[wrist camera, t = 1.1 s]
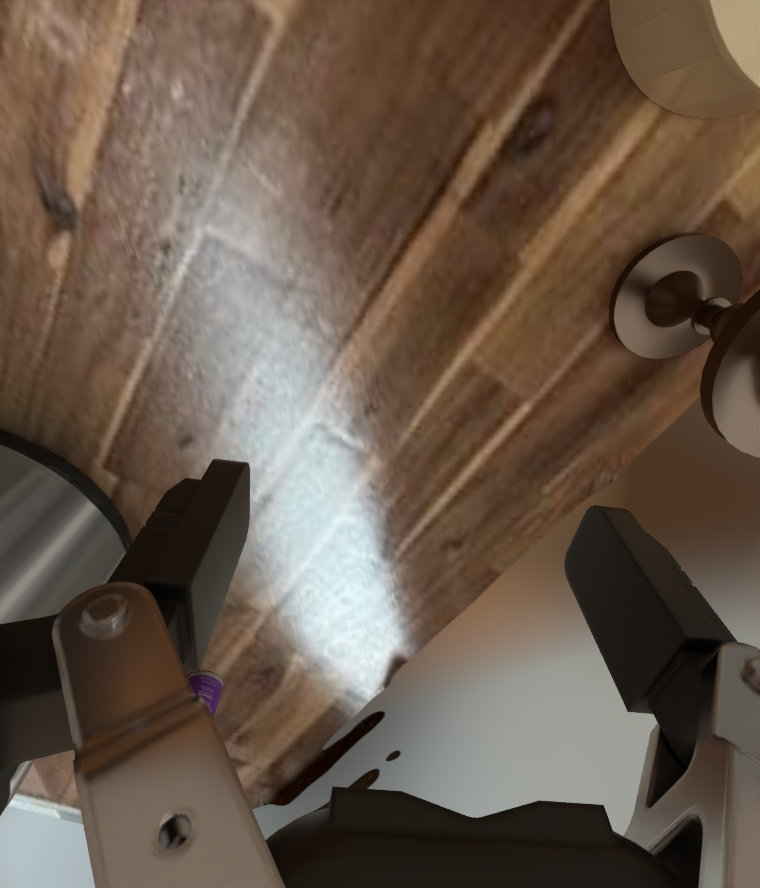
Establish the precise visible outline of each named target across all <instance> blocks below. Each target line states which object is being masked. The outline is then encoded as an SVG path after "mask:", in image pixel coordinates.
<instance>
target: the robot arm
mask: <svg viewBox="0 0 760 888" xmlns="http://www.w3.org/2000/svg"><path fill="white" fill-rule="evenodd" d="M249 518H250V467H249V463H246V462H238V461H230V460H221V459H213V460H212V462H211V463H210V465H209V467H208V469H207V470H206V472H205V474H204V476H203V477H202V479H201V480H198V479H190V478H185V479H184V480H182V481H181V482H180V483H178V484H177V485H175V486H174V487H172V488H171V489H169V490H168V491H167V492H166V493H165V495H164V496H163V498H162V499H161V501H160V502H159V504H158V505H157V507H156V510H155V512H154V511H153V513H152V514H151V516H150V517H149V519H148V520H147V522H146V526H144V527H143V528H142V530H141V531H140V533H139V534H138V536H137V537H136V539H135V540H134V542H133V543H132V545H131V546H130V548H129V549H128V551H127V552H126V554H125V555H124V557H123V558H122V560H121V561H120V563H119V564H118V566H117V567H116V569H115V570H114V572H113V574H112V575H111V577H110V578H109V580H108V581H107V582H106V584H103V585H99V586H96V587H94V588H91V589H89V590H87V591H85V592H83V593H81V594H80V595H78V596H77V597H75V598H74V599H72V600H71V601H70V602H69V603H68V604H66V606H65V607H64V608H63V609H62V610H61V611H60V613H58V614H55V615H51V616H46V617H41V618H35V619H29V620H22V621H16V622H10V623H4V624H0V800H1V798H2V796H3V794H4V792H5V790H6V789H7V787H8V785H9V783H10V781H11V779H12V778H13V776H14V774H15V772H16V770H17V768H18V767H19V765H20V763H22V762H26V761H30V760H34V759H38V758H42V757H46V756H50V755H53V754H57V753H61V752H65V751H69V750H73V749H74V752H75V759H74V761H73V766H74V775H75V781H76V787H77V792H78V798H79V803H80V808H81V814H82V819H83V824H84V830H85V835H86V840H87V846H88V851H89V856H90V862H91V867H92V872H93V878H94V882H95V887H96V888H760V649H758V648H756V647H754V646H751V645H748V644H744V643H739V642H737V640H736V639H735V638H734V637H733V635H732V634H731V633H730V631H729V630H728V629H727V627H726V626H725V625H724V623H723V622H722V621H721V619H720V618H719V617H718V615H717V614H716V613H715V612H714V610H713V609H712V608H711V606H710V605H709V604H708V602H707V601H706V600H705V598H704V597H703V596H702V594H701V593H700V592H699V590H698V589H697V588H696V587H693V586H692V581H691V580H690V579H689V577H688V576H687V575H686V573H685V572H684V571H681V567H680V566H679V564H678V563H677V562H676V560H675V559H674V558H673V556H672V555H671V554H670V552H669V551H668V550H667V549H666V548H665V547H664V546H662V545H661V544H660V543H659V542H658V541H656V540H655V539H654V538H653V537H652V536H650V535H649V534H648V533H645V531H644V530H643V529H642V527H641V526H640V525H639V523H638V522H637V521H636V519H635V518H634V516H633V515H632V514H631V513H630V512H629V511H628V510H626V509H621V508H612V507H604V506H596V505H594V506H591V507H590V508H589V509H588V510H587V511H586V513H585V515H584V517H583V519H582V521H581V523H580V525H579V528H578V530H577V532H576V534H575V536H574V538H573V540H572V542H571V544H570V546H569V548H568V551H567V553H566V556H565V574H566V578H567V580H568V582H569V585H570V587H571V589H572V591H573V593H574V595H575V598H576V600H577V602H578V604H579V606H580V608H581V611H582V613H583V615H584V617H585V619H586V621H587V624H588V626H589V628H590V630H591V632H592V635H593V637H594V639H595V641H596V643H597V645H598V648H599V650H600V652H601V654H602V656H603V658H604V661H605V663H606V665H607V667H608V669H609V671H610V674H611V676H612V678H613V680H614V682H615V684H616V686H617V689H618V691H619V693H620V695H621V697H622V699H623V702H624V704H625V706H626V708H627V711H628V712H637V713H650V714H654V716H655V718H656V720H657V722H658V723H657V725H656V726H655V727H654V729H653V730H652V731H651V734H650V739H649V743H648V748H647V752H646V757H645V762H644V767H643V772H642V776H641V781H640V786H639V790H638V795H637V800H636V804H635V809H634V813H633V817H632V820H631V823H630V825H629V827H628V829H627V831H626V832H625V834H624V836H622V835H620V834H618V833H616V832H614V831H613V830H612V827H611V825H610V822H609V819H608V816H607V813H606V811H605V808H604V805H595V804H580V803H566V802H551V801H537V802H534V803H530V804H526V805H523V806H519V807H515V808H512V809H509V810H505V811H501V812H498V813H495V814H491V815H487V816H484V817H479V818H472V817H468V816H465V815H462V814H460V813H457V812H455V811H452V810H449V809H446V808H444V807H441V806H439V805H436V804H433V803H431V802H428V801H426V800H423V799H420V798H418V797H415V796H412V795H410V794H407V793H404V792H402V791H388V790H374V789H359V788H343V787H332V792H331V797H330V802H329V807H328V808H327V809H323V810H320V811H316V812H313V813H310V814H308V815H306V816H303V817H301V818H299V819H296V820H294V821H293V822H291V823H289V824H288V825H286V826H285V827H283V828H281V829H279V830H278V831H277V832H275V833H274V834H273V835H272V836H270V837H269V838H268V839H267V840H265V839H264V836H263V834H262V832H261V829H260V827H259V825H258V822H257V820H256V818H255V815H254V813H253V810H252V808H251V806H250V803H249V801H248V799H247V796H246V794H245V792H244V789H243V787H242V785H241V782H240V780H239V778H238V775H237V773H236V771H235V768H234V766H233V764H232V761H231V759H230V757H229V754H228V752H227V750H226V747H225V745H224V743H223V740H222V738H221V736H220V733H219V731H218V729H217V726H216V724H215V722H214V719H213V717H212V715H211V712H210V710H209V708H208V706H207V704H206V702H205V701H204V699H203V698H202V696H201V695H198V696H196V694H195V693H194V691H193V689H192V687H191V685H190V682H189V680H188V677H187V675H186V673H185V672H187V673H198V672H199V669H200V667H201V664H202V661H203V658H204V656H205V653H206V650H207V647H208V644H209V642H210V639H211V636H212V633H213V630H214V628H215V625H216V622H217V619H218V617H219V614H220V611H221V608H222V605H223V603H224V600H225V597H226V594H227V591H228V589H229V586H230V583H231V580H232V578H233V575H234V572H235V569H236V566H237V564H238V561H239V558H240V555H241V552H242V550H243V547H244V544H245V541H246V537H247V533H248V527H249Z"/></svg>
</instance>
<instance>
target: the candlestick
mask: <svg viewBox="0 0 760 888" xmlns="http://www.w3.org/2000/svg"><path fill="white" fill-rule="evenodd" d="M741 283H742V274H741V267H740V263H739V260H738V258H737V256H736V254H735V253H734V251H733V250H732V249H731V248H730V247H729V246H728V245H727V244H726V243H725V242H723V241H721V240H719V239H717V238H715V237H710V236H705V235H700V234H680V235H676V236H671V237H668V238H666V239H663V240H661V241H659V242H656V243H655V244H653V245H652V246H650V247H648V248H647V249H645V250H644V251H643V252H642V253H640V254H639V255H638V256H637V257H636V258H635V259H633V261H632V262H631V263H630V264H629V265H628V266H627V268H626V269H625V270H624V272H623V273H622V275H621V276H620V278H619V280H618V281H617V283H616V286H615V288H614V290H613V293H612V296H611V301H610V305H609V319H610V324H611V328H612V330H613V332H614V335H615V337H616V338H617V339H618V340H619V342H620V343H621V344H622V345H624V346H625V347H626V348H628V349H629V350H631V351H632V352H633V353H635V354H638V355H640V356H642V357H646V358H652V359H665V358H670V357H675V356H679V355H681V354H684V353H687V352H689V351H691V350H693V349H695V348H697V347H698V346H700V345H701V344H703V343H704V342H706V341H707V340H708V339H710V338H711V339H712V341H713V342H714V345H713V347H712V348H711V350H710V352H709V355H708V358H707V360H706V363H705V366H704V369H703V372H702V379H701V386H700V396H701V406H702V409H703V412H704V414H705V417H706V419H707V421H708V423H709V424H710V425H711V426H712V428H713V429H714V430H715V432H716V433H717V434H719V435H720V436H721V437H722V438H724V439H725V440H727V441H728V442H729V443H730V444H732V445H733V446H735V447H736V448H737V449H739V450H740V451H742V452H745V453H747V454H750V455H753V456H755V457H760V290H758V291H757V292H756V293H755V294H754V295H753V296H752V297H751V298H750V299H749V300H748V301H747V302H746V303H740V304H736V302H737V300H738V297H739V294H740V289H741Z"/></svg>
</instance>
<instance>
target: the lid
mask: <svg viewBox="0 0 760 888" xmlns="http://www.w3.org/2000/svg"><path fill="white" fill-rule="evenodd" d="M701 3H702V6H703V10H704V13H705V17H706V20H707V24H708V27H709V30H710V32H711V34H712V37H713V39H714V41H715V43H716V45H717V48H718V50H719V52H720V54H721V55H722V56H723V58H724V59H725V61H726V62H727V64H728V65H729V67H730V68H731V70H732V71H733V72H734V73H735V74H736V75H737V76H738V77H739V78H740V79H741V80H742V81H743V82H744V83H745V84H746V85H747V86H748V87H749V88H750V89H751V90H753V91H755V92H756V93H758V94H759V95H760V0H701Z"/></svg>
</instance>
